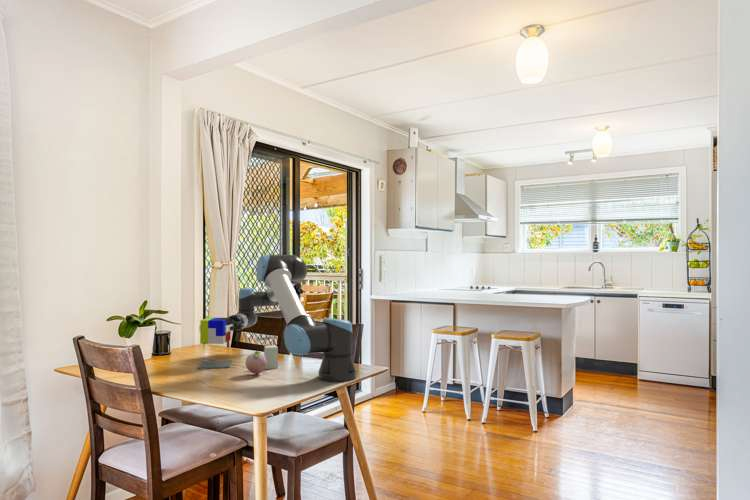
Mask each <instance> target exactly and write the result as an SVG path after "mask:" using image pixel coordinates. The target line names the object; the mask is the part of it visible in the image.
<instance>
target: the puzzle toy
mask: <svg viewBox="0 0 750 500" xmlns="http://www.w3.org/2000/svg"><path fill="white" fill-rule="evenodd" d="M199 322H200V325H199V330H200V331H199V335H200V337H199V338H200V340H199V343H200V345H201V344H204V345H207V344H209V345H210V344H211V345H212V344H213V345H223V344H226V343H228V342H229V341H231V333H232V331H230V332H225V326H227V325H231V318H228V317H206V318H203V319H200V321H199Z"/></svg>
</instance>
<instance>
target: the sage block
mask: <svg viewBox="0 0 750 500" xmlns="http://www.w3.org/2000/svg"><path fill="white" fill-rule="evenodd" d="M263 347H264V348H263V351H264V353H263V355H264V356H265V358H266V361H267V363H266V367H265V370H270V369H271V370H274V368H275V369H278V368H279V347H278V346H277V345H276V344H275V345H264V346H263Z"/></svg>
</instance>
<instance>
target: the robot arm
mask: <svg viewBox="0 0 750 500" xmlns="http://www.w3.org/2000/svg"><path fill="white" fill-rule="evenodd" d="M255 271H256V272H255V274H256V280H257V281H258V282H260V283H263V282H264V283H265V286H266V288H268V290H267V291H255V289H254V288H253V287H246V288H245V287H243V288H239V290H238V296H237V297H238V312H237V313H236V314H232V315H229V316H228V317H227V318H231V325H227V326H225V332H230V331H231V332H237V331H242V330H243V329H245V328H246V329H247V328H251V327H253V326H254V325H255V324H256V323H257V322H258V316H257V314H256V312H255V308H257V307H276V306H279V309H280V311H281V313H282V315H283V317H284V320H285V322H286V326H285V327H284V328H285V329H284V330H283V339H284V342H283V343H284V345H285V347H286V350H287V351H288V353H290V354H291V355H294V356H306V355H313V354H314V355H315V354H321V353H322V359H321V362H320V363H321V364H320V366H319V369H318V376H317V377H318V379H320V380H321V381H325V382H326V381H327V382H346V381H352V380H355V379H356V378H357V369H356V366H355V363H354V360H353V333H354V332H353V324H352V323H353V322H351V321H350V320H346V319H341V318H340V319H339V318H331V317H324V318H323V320H322V322H316V321H315V320H314V317H313V316H312V315H310V314H308V313H307V311H306V309H305V307H304V306H303V303H302V302H301V299H300V297H299V295H298V293H297V292H296V289H295V286H296V285H298V284H301V283H302V282H303V281H304V280H305V278H306V277H307V275H308V266H307V264H306V261H304V260H303V259H302V258H301V257H300V256H298V255H294V254H262V255H261V256H259V258H258V260H257V263H256V270H255ZM199 332H200V329H199Z"/></svg>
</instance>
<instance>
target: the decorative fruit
mask: <svg viewBox="0 0 750 500" xmlns="http://www.w3.org/2000/svg"><path fill="white" fill-rule="evenodd" d="M266 363H267V361H266V358H265V356H264V353H261V352H260V351H258V349H257V350H256V351H254V352H253V353H250V354H249V355H247V357H246V359H245V366H246V369H247V370H248V371H249V372H250V373H252V374H255V375H256V376H257V375H260V374H261V373H263V371H264V370H266V368H265V367H266Z"/></svg>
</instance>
